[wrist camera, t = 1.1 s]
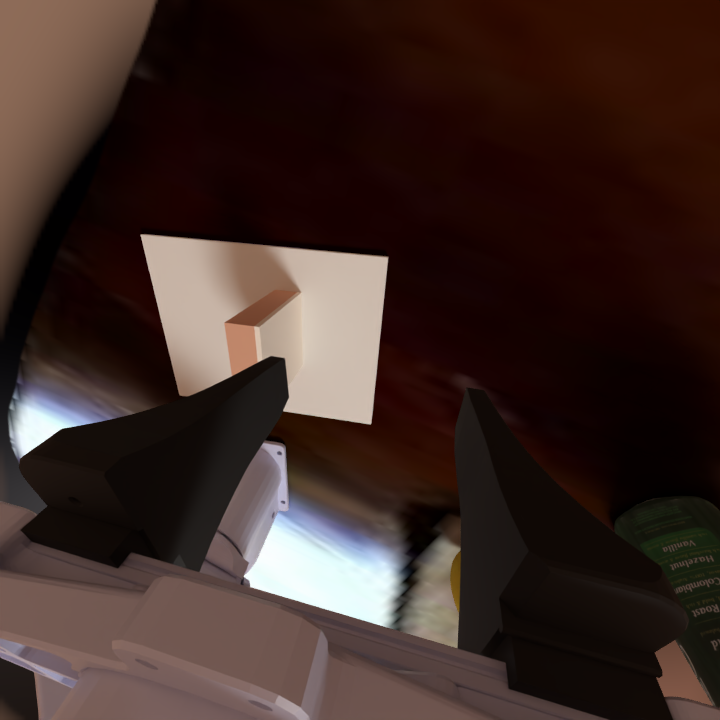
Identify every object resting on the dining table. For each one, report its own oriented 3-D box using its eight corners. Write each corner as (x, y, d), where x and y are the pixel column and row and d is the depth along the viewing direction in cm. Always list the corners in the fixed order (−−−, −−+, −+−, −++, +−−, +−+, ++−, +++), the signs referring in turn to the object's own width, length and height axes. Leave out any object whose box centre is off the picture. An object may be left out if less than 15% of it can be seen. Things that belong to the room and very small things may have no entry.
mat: (371, 421, 28) (370, 424, 27) (182, 392, 30) (179, 395, 29) (388, 256, 21) (387, 257, 21) (144, 234, 23) (140, 234, 23)
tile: (302, 364, 26) (267, 417, 20) (279, 361, 26) (237, 412, 20) (301, 292, 23) (259, 327, 17) (275, 289, 23) (224, 322, 17)
